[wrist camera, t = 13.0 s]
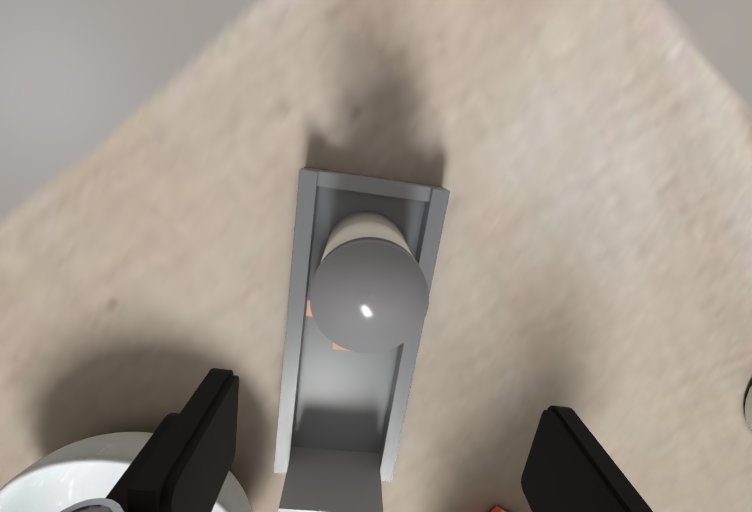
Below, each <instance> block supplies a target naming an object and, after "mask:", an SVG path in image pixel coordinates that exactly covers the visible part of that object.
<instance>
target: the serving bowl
mask: <svg viewBox="0 0 752 512" xmlns="http://www.w3.org/2000/svg"><path fill="white" fill-rule="evenodd" d="M152 435H153V433H148V432H117V433H109V434H103V435H98V436H93V437H90V438H86V439H83V440H80V441H77V442H74V443H71V444H69V445H66V446H64V447H62V448H60V449H58V450H56V451H54V452H52V453H50V454H48V455H46V456H45V457H43V458H42V459H40V460H38V461H37V462H35V463H34V464H32V465H31V466H29V467H28V468H27V469H25V470H24V471H22V472H21V473H20V474H18V475H17V476H15V477H14V478H13V479H11V480H10V481H9V482H8V483H7V484H5V485H4V486H3V487H2V488H1V489H0V512H61V511H62V510H64V509H66V508H68V507H70V506H72V505H74V504H76V503H79V502H82V501H85V500H88V499H95V498H106V496H107V495H108V494H109V492H110V491H111V490H112V488H113V487H114V486H115V484H116V483H117V482H118V480H119V479H120V478H121V476H122V475H123V474H124V472H125V471H126V470H127V468H128V467H129V465H130V464H131V463H132V461H133V460H134V459H135V457H136V456H137V455H138V453H139V452H140V451H141V449H142V448H143V447H144V445H145V444H146V443H147V441H148V440H149V439H150V437H151V436H152ZM212 512H252V508H251V506H250V503H249V500H248V498H247V496H246V494H245V492H244V490H243V488H242V487H241V485H240V484H239V482H238V480H237V479H236V478H235V477H234V475H233V474H232V473H231V472H230V471H229V472H228V474H227V477H226V479H225V481H224V484H223V486H222V488H221V491H220V493H219V495H218V498H217V500H216V502H215V505H214V507H213V510H212Z"/></svg>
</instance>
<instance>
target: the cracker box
mask: <svg viewBox="0 0 752 512" xmlns="http://www.w3.org/2000/svg"><path fill="white" fill-rule="evenodd" d="M491 512H507V511H505V510H503V509H502V508H500V507H498V506H495V508H494V509H493V510H492V511H491Z"/></svg>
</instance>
